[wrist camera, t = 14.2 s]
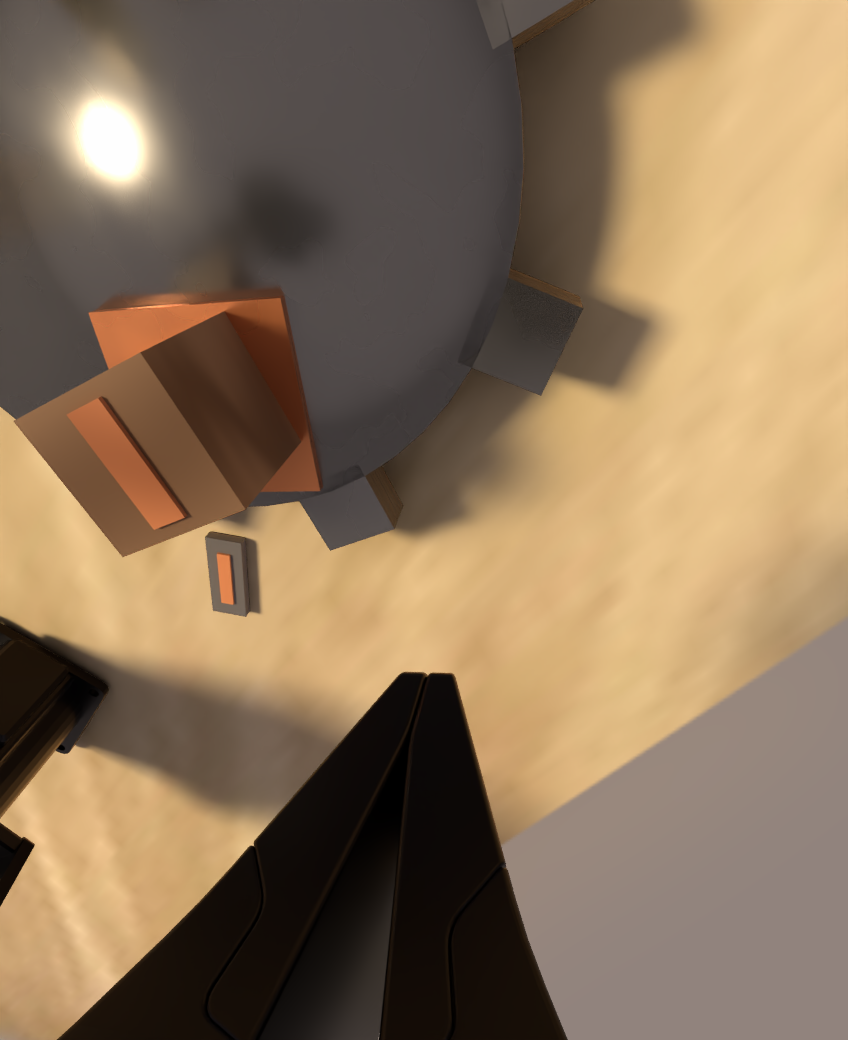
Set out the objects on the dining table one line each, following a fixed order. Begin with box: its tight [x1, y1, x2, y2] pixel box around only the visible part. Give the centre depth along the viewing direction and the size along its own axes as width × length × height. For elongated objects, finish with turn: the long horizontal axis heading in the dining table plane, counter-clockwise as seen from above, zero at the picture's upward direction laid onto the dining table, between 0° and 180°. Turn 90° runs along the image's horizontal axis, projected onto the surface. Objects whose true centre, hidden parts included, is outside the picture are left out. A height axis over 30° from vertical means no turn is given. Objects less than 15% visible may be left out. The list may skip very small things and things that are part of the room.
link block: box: [14, 311, 301, 557], centre depth 16 cm, size 4×4×4 cm
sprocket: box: [0, 0, 595, 551], centre depth 13 cm, size 22×22×6 cm
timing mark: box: [205, 532, 250, 617], centre depth 24 cm, size 4×1×1 cm, turn 174°
